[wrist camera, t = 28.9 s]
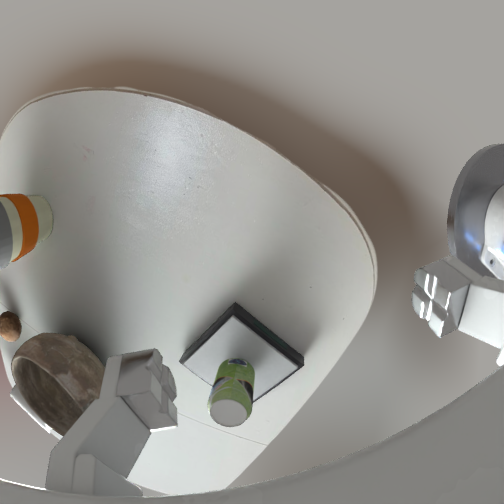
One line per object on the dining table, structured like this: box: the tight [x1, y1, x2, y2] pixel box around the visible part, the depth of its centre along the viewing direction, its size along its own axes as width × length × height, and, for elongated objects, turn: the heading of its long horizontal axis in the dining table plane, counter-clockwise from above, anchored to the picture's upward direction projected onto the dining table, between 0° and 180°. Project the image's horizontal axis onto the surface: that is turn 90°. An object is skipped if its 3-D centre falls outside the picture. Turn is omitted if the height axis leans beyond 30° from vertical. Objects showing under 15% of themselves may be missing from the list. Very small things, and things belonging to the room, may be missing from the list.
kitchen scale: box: [179, 302, 304, 403], centre depth 48 cm, size 15×15×3 cm
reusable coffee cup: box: [0, 194, 53, 269], centre depth 40 cm, size 13×13×15 cm
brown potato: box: [0, 311, 21, 342], centre depth 55 cm, size 8×8×6 cm
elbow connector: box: [10, 385, 52, 433], centre depth 60 cm, size 18×11×20 cm
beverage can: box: [207, 358, 255, 427], centre depth 41 cm, size 6×7×12 cm
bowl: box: [11, 333, 105, 436], centre depth 49 cm, size 24×24×15 cm
